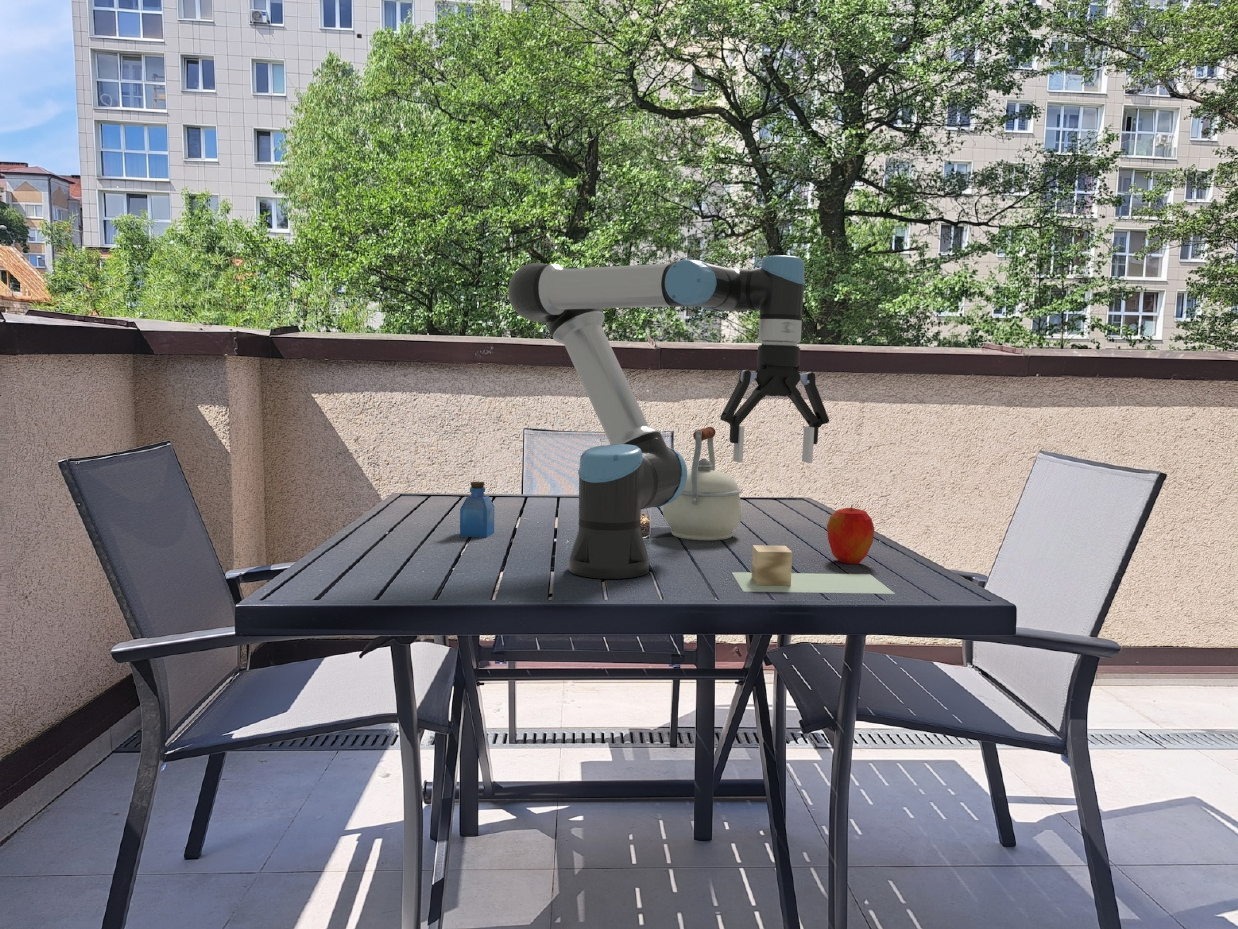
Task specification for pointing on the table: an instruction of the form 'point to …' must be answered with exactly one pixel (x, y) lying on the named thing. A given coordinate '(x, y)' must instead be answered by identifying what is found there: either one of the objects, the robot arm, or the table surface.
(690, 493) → the kettle
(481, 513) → the blue corked bottle
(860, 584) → the felt mat
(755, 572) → the wooden block
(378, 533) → the table surface
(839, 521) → the apple
